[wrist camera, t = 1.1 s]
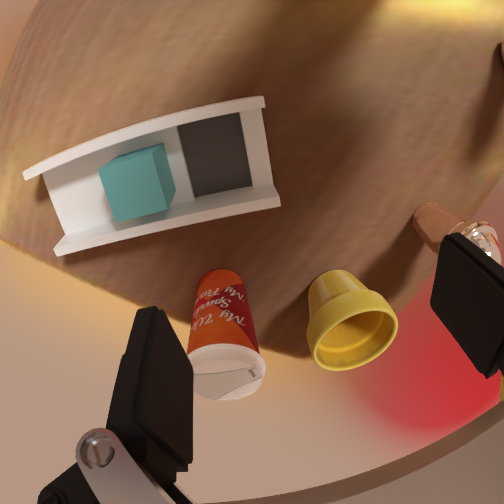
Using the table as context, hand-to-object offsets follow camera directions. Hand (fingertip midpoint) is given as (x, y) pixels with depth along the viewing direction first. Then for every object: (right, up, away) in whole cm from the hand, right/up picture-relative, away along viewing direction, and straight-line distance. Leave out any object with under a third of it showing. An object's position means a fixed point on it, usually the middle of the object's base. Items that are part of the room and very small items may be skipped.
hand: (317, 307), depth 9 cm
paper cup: (-6, -3, +28) cm, 28 cm away
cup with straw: (+21, +6, +25) cm, 33 cm away
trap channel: (-12, +10, +19) cm, 25 cm away
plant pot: (+9, -3, +29) cm, 31 cm away
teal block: (-12, +9, +18) cm, 24 cm away
